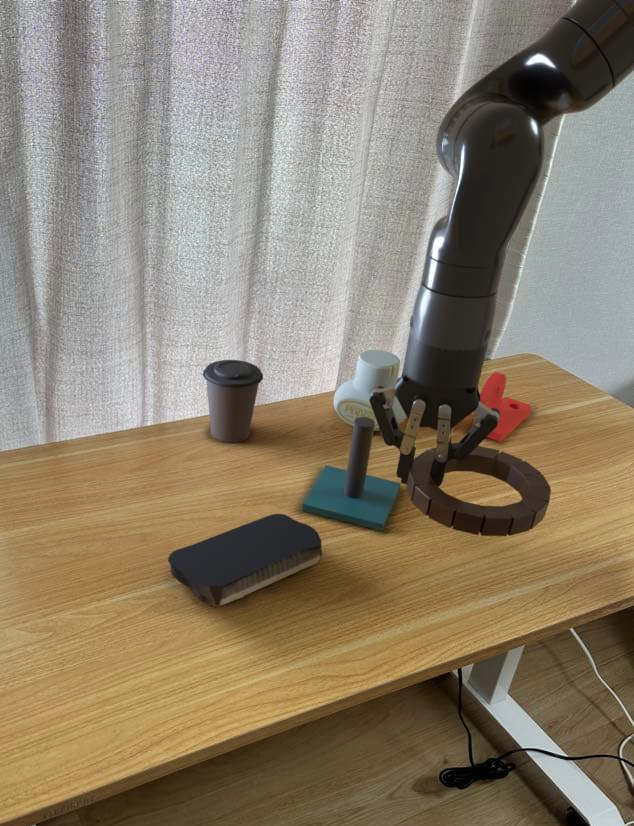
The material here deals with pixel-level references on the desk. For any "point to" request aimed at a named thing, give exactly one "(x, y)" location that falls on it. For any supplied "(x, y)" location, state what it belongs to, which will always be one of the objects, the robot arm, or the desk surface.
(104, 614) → the desk surface
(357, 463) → the post stand
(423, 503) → the ring
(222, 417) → the coffee cup
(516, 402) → the bracket
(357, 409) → the air freshener
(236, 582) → the black board eraser
